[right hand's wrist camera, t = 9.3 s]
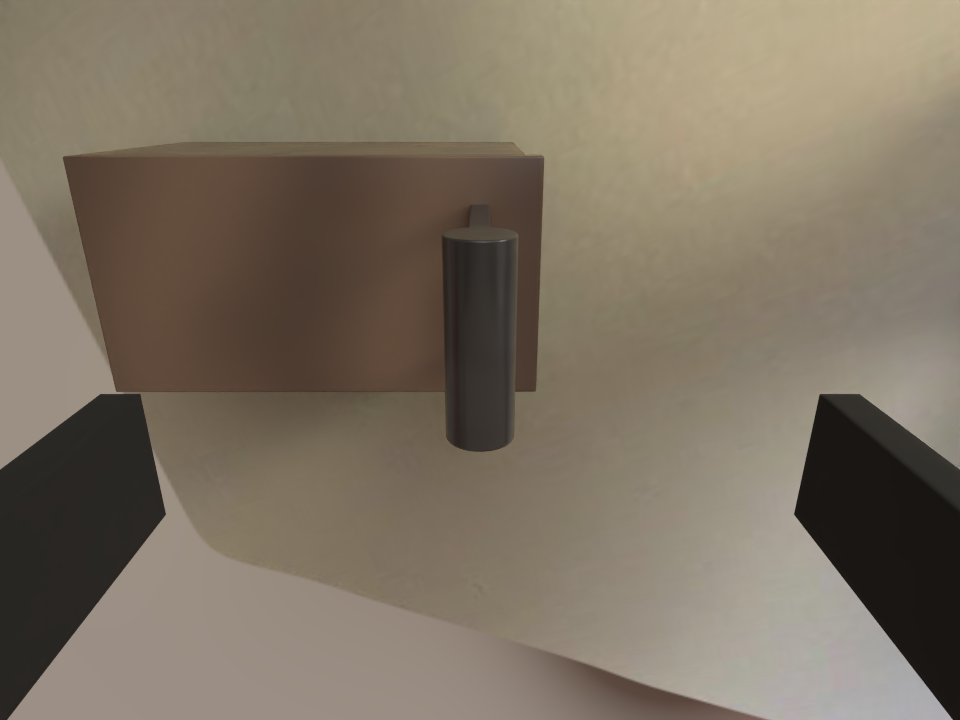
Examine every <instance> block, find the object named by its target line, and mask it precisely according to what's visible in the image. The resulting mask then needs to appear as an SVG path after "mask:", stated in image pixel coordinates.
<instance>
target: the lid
mask: <svg viewBox="0 0 960 720" xmlns="http://www.w3.org/2000/svg"><path fill="white" fill-rule="evenodd" d="M63 160H64V165H65V169H66V173H67V178H68V182H69V187H70V191H71V195H72V200H73V204H74V209H75V213H76V217H77V222H78V226H79V230H80V235H81V239H82V244H83V248H84V252H85V257H86V261H87V266H88V270H89V274H90V279H91V283H92V288H93V292H94V296H95V301H96V305H97V309H98V314H99V318H100V323H101V327H102V331H103V336H104V340H105V345H106V349H107V353H108V358H109V362H110V366H111V371H112V375H113V380H114V384H115V388H116V391H117V392H445V405H446V437H447V439H448V441H449V442H450V443H451V444H452V445H454V446H456V447H458V448H460V449H464V450H468V451H476V452H484V451H492V450H497V449H500V448H502V447H505V446H506V445H508V444H509V443H510V442H511V441H512V439H513V437H514V413H515V392H535V391H536V375H537V346H538V318H539V289H540V261H541V232H542V203H543V175H544V157H543V156H542V155H71V156H64V157H63Z"/></svg>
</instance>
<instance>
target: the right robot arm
mask: <svg viewBox="0 0 960 720" xmlns="http://www.w3.org/2000/svg"><path fill="white" fill-rule="evenodd" d="M165 515H166V513H165V508H164V504H163V499H162V494H161V490H160V485H159V480H158V475H157V471H156V466H155V461H154V457H153V452H152V447H151V443H150V438H149V433H148V428H147V424H146V419H145V414H144V410H143V405H142V400H141V396H140V394H100V395H99V396H98V397H96V398H95V399H94V400H92V401H91V402H90V403H88V404H87V405H86V406H84V407H83V408H82V409H80V410H79V411H78V412H76V413H75V414H74V415H72V416H71V417H70V418H68V419H67V420H66V421H64V422H63V423H62V424H60V425H59V426H58V427H56V428H55V429H54V430H52V431H51V432H50V433H48V434H47V435H46V436H44V437H43V438H42V439H40V440H39V441H38V442H36V443H35V444H34V445H33V446H31V447H30V448H29V449H27V450H26V451H25V452H23V453H22V454H21V455H19V456H18V457H17V458H15V459H14V460H13V461H11V462H10V463H9V464H7V465H6V466H5V467H3V468H2V469H1V470H0V720H7V719H8V718H9V716H10V715H11V714H12V713H13V711H14V710H15V709H16V707H17V706H18V705H19V704H20V702H21V701H22V700H23V698H24V697H25V696H26V695H27V693H28V692H29V691H30V689H31V688H32V687H33V685H34V684H35V683H36V682H37V680H38V679H39V678H40V676H41V675H42V674H43V673H44V671H45V670H46V669H47V667H48V666H49V665H50V664H51V662H52V661H53V660H54V658H55V657H56V656H57V654H58V653H59V652H60V651H61V649H62V648H63V647H64V645H65V644H66V643H67V642H68V640H69V639H70V638H71V636H72V635H73V634H74V633H75V631H76V630H77V629H78V627H79V626H80V625H81V623H82V622H83V621H84V620H85V618H86V617H87V616H88V614H89V613H90V612H91V611H92V609H93V608H94V607H95V605H96V604H97V603H98V602H99V600H100V599H101V598H102V596H103V595H104V594H105V592H106V591H107V590H108V589H109V587H110V586H111V585H112V583H113V582H114V581H115V580H116V578H117V577H118V576H119V574H120V573H121V572H122V570H123V569H124V568H125V567H126V565H127V564H128V563H129V561H130V560H131V559H132V558H133V556H134V555H135V554H136V552H137V551H138V550H139V548H140V547H141V546H142V545H143V543H144V542H145V541H146V539H147V538H148V537H149V536H150V534H151V533H152V532H153V530H154V529H155V528H156V526H157V525H158V524H159V523H160V521H161V520H162V519H163V518H164V516H165ZM794 515H795V516H796V518H797V519H798V520H799V521H800V523H801V524H802V525H803V527H804V528H805V529H806V530H807V532H808V533H809V534H810V536H811V537H812V538H813V539H814V541H815V542H816V543H817V545H818V546H819V547H820V549H821V550H822V551H823V552H824V554H825V555H826V556H827V558H828V559H829V560H830V561H831V563H832V564H833V565H834V567H835V568H836V569H837V570H838V572H839V573H840V574H841V576H842V577H843V578H844V580H845V581H846V582H847V583H848V585H849V586H850V587H851V589H852V590H853V591H854V592H855V594H856V595H857V596H858V598H859V599H860V600H861V602H862V603H863V604H864V605H865V607H866V608H867V609H868V611H869V612H870V613H871V614H872V616H873V617H874V618H875V620H876V621H877V622H878V623H879V625H880V626H881V627H882V629H883V630H884V631H885V633H886V634H887V635H888V636H889V638H890V639H891V640H892V642H893V643H894V644H895V645H896V647H897V648H898V649H899V651H900V652H901V653H902V654H903V656H904V657H905V658H906V660H907V661H908V662H909V664H910V665H911V666H912V667H913V669H914V670H915V671H916V673H917V674H918V675H919V676H920V678H921V679H922V680H923V682H924V683H925V684H926V686H927V687H928V688H929V689H930V691H931V692H932V693H933V695H934V696H935V697H936V698H937V700H938V701H939V702H940V704H941V705H942V706H943V707H944V709H945V710H946V711H947V713H948V714H949V715H950V717H951V718H952V719H953V720H960V470H959V469H958V468H957V467H955V466H954V465H953V464H951V463H950V462H949V461H947V460H946V459H945V458H943V457H942V456H941V455H939V454H938V453H937V452H936V451H934V450H933V449H932V448H930V447H929V446H928V445H926V444H925V443H924V442H922V441H921V440H920V439H918V438H917V437H916V436H914V435H913V434H912V433H910V432H909V431H908V430H906V429H905V428H904V427H902V426H901V425H900V424H898V423H897V422H896V421H894V420H893V419H892V418H890V417H889V416H888V415H886V414H885V413H884V412H882V411H881V410H880V409H878V408H877V407H876V406H874V405H873V404H872V403H870V402H869V401H868V400H866V399H865V398H864V397H862V396H861V395H860V394H820V396H819V400H818V405H817V410H816V414H815V419H814V424H813V428H812V433H811V438H810V443H809V447H808V452H807V457H806V461H805V466H804V471H803V475H802V480H801V485H800V489H799V494H798V499H797V504H796V508H795V513H794Z"/></svg>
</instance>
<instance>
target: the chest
mask: <svg viewBox="0 0 960 720" xmlns="http://www.w3.org/2000/svg"><path fill="white" fill-rule="evenodd" d="M81 155H525V154H524V153H523V152H522V151H521V150H520V149H519V148H518V147H517V146H516V145H515V144H514V143H513V142H184V143H175V144H167V145H158V146H149V147H141V148H132V149H123V150H115V151H106V152H97V153H89V154H81Z"/></svg>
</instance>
